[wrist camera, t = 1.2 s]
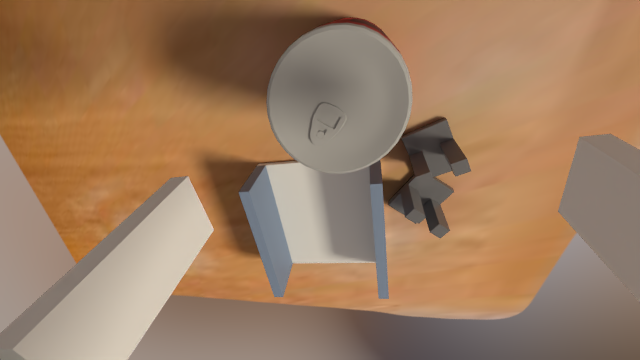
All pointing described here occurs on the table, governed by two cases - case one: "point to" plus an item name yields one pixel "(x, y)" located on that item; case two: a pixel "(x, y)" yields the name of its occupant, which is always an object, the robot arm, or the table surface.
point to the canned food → (340, 97)
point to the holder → (315, 218)
